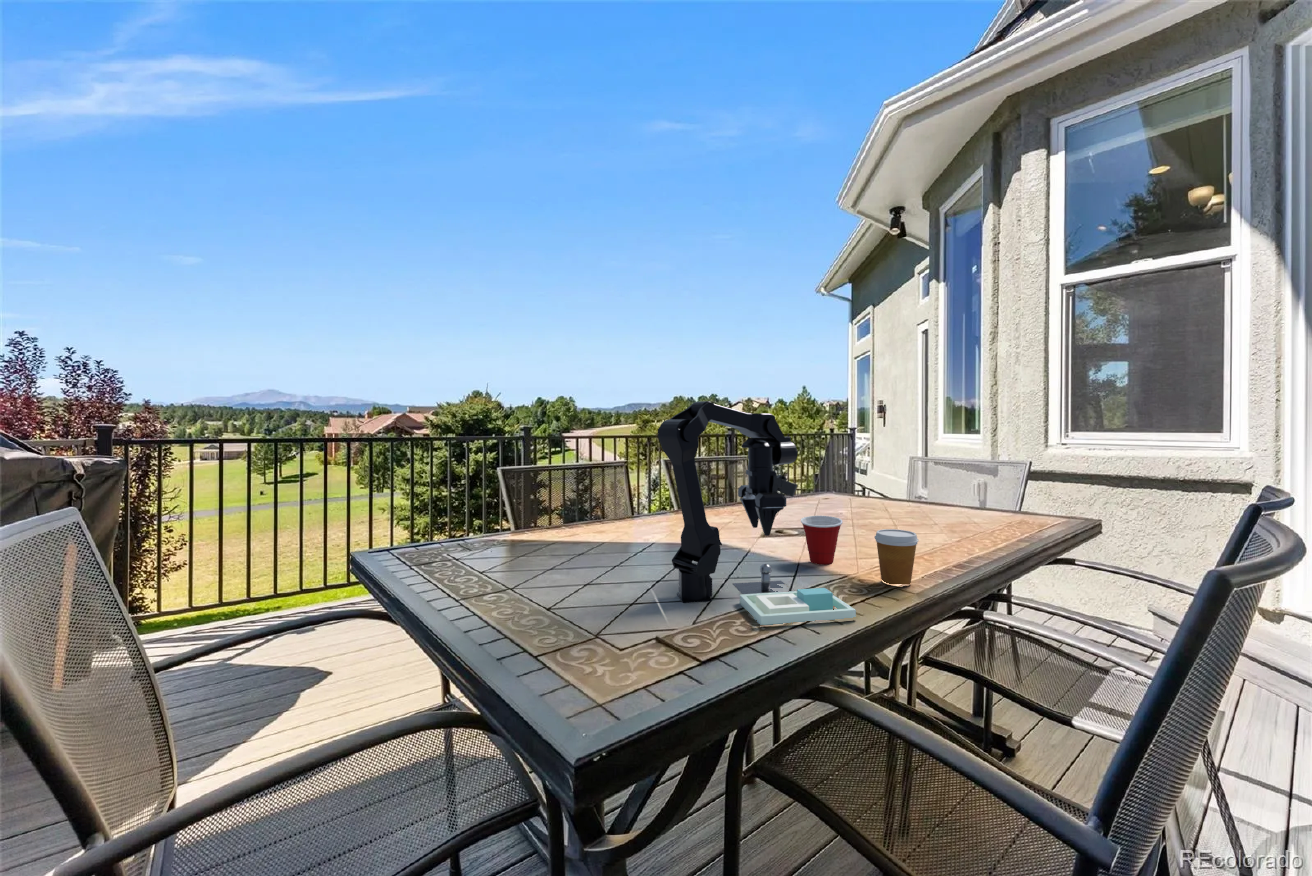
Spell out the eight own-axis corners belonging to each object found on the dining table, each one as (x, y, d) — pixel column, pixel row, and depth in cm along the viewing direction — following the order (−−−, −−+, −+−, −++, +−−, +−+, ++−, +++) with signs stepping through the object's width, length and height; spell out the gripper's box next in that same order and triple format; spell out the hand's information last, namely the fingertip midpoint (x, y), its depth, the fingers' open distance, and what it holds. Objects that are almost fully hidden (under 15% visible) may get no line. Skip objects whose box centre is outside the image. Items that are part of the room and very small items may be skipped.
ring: (769, 619, 106) (769, 601, 106) (755, 605, 114) (755, 588, 114) (838, 614, 108) (838, 596, 108) (819, 601, 116) (819, 584, 116)
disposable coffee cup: (865, 581, 132) (865, 531, 131) (894, 575, 136) (894, 527, 135) (897, 592, 123) (898, 538, 123) (927, 586, 127) (928, 534, 127)
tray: (761, 628, 103) (761, 616, 103) (739, 604, 116) (739, 594, 116) (855, 621, 106) (855, 610, 106) (824, 599, 119) (824, 589, 119)
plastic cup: (796, 566, 146) (796, 520, 145) (805, 556, 155) (805, 514, 155) (838, 571, 141) (839, 524, 140) (845, 561, 150) (845, 517, 150)
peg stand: (748, 601, 118) (748, 572, 117) (732, 585, 129) (732, 558, 129) (802, 598, 119) (802, 569, 119) (780, 582, 131) (780, 556, 131)
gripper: (808, 469, 123) (808, 538, 124) (779, 462, 142) (779, 522, 142) (760, 470, 122) (760, 540, 122) (737, 463, 140) (737, 524, 141)
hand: (760, 531), depth 132 cm, fingers open, 9 cm apart
